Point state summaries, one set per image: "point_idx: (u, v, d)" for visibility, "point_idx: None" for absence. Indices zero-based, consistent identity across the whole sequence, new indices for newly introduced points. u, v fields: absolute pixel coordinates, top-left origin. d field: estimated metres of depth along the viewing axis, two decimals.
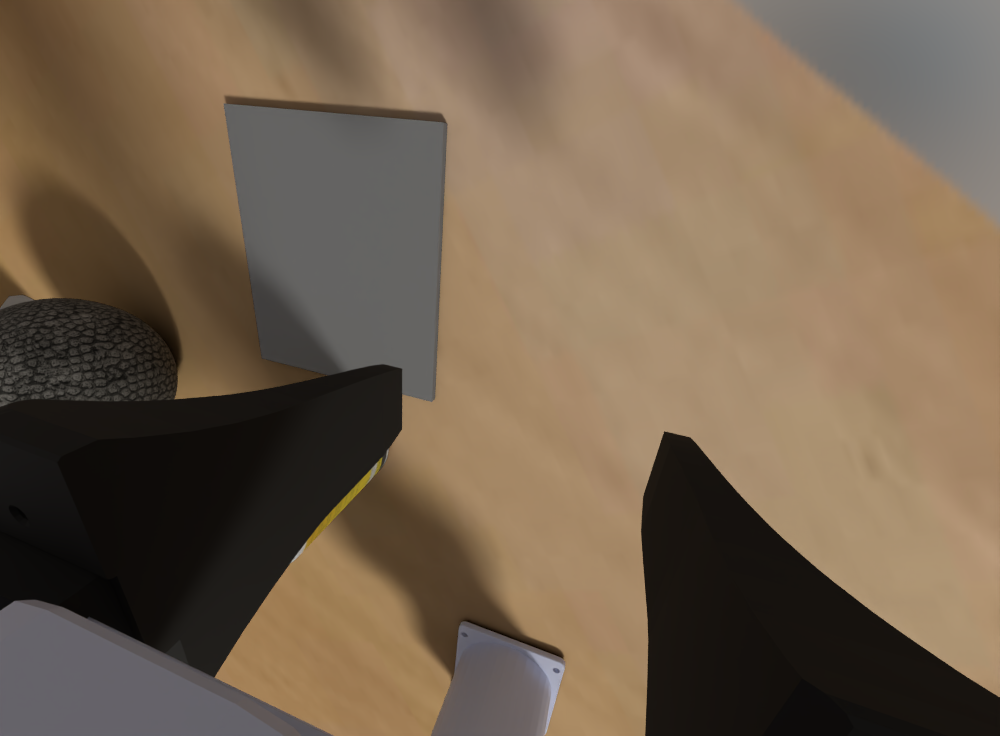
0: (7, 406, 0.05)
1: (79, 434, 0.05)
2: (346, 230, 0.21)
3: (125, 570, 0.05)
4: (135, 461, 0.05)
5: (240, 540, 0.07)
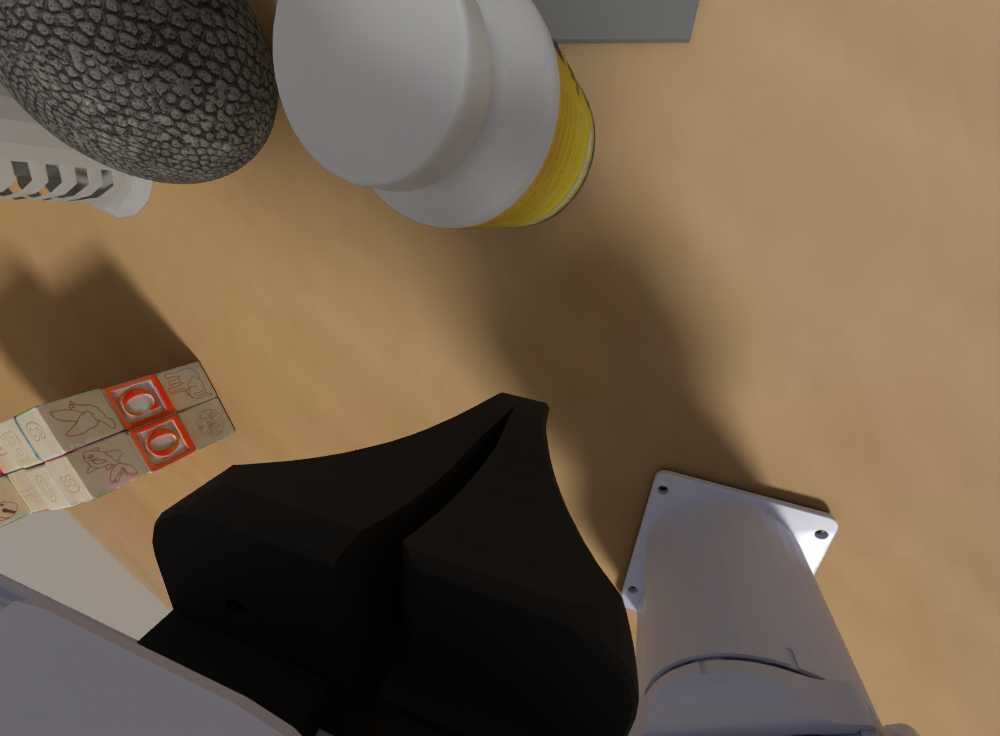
0: (227, 483, 0.04)
1: (331, 522, 0.04)
2: None
3: (356, 670, 0.05)
4: (377, 547, 0.04)
5: None
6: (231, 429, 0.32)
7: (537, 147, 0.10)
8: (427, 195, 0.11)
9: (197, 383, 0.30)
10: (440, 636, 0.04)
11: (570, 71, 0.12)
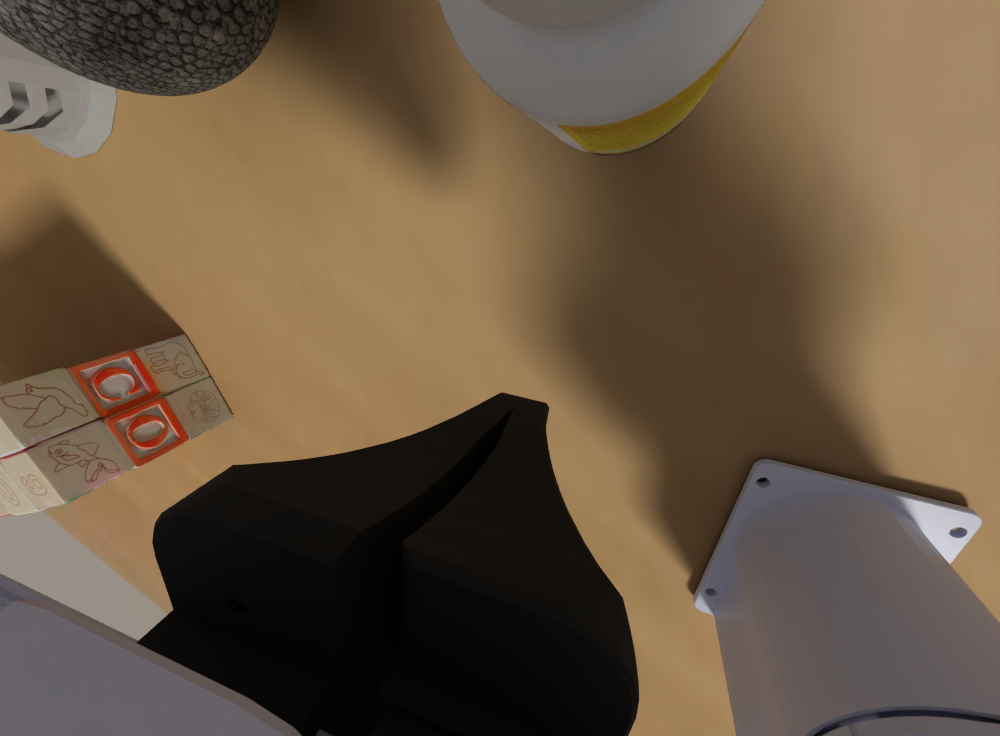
0: (227, 482, 0.04)
1: (331, 522, 0.04)
2: None
3: (356, 670, 0.05)
4: (377, 547, 0.04)
5: None
6: (228, 414, 0.27)
7: None
8: (580, 56, 0.07)
9: (185, 360, 0.25)
10: (440, 636, 0.04)
11: None
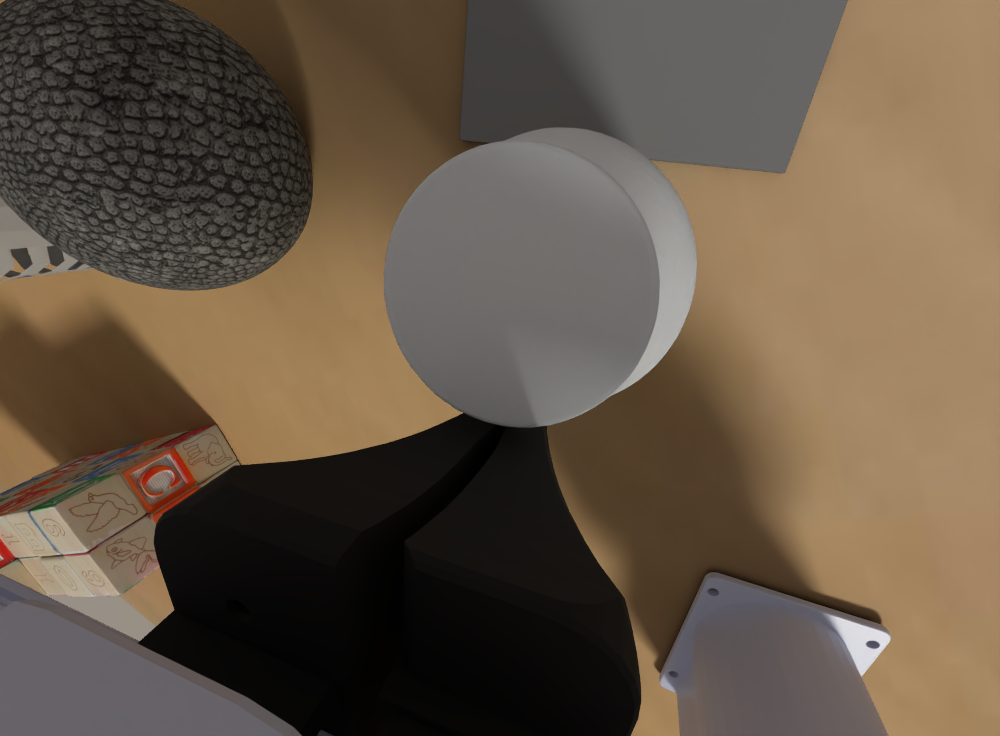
0: (228, 483, 0.04)
1: (333, 523, 0.04)
2: None
3: (357, 671, 0.05)
4: (378, 547, 0.04)
5: None
6: None
7: (669, 347, 0.09)
8: None
9: (216, 449, 0.29)
10: (442, 636, 0.04)
11: None
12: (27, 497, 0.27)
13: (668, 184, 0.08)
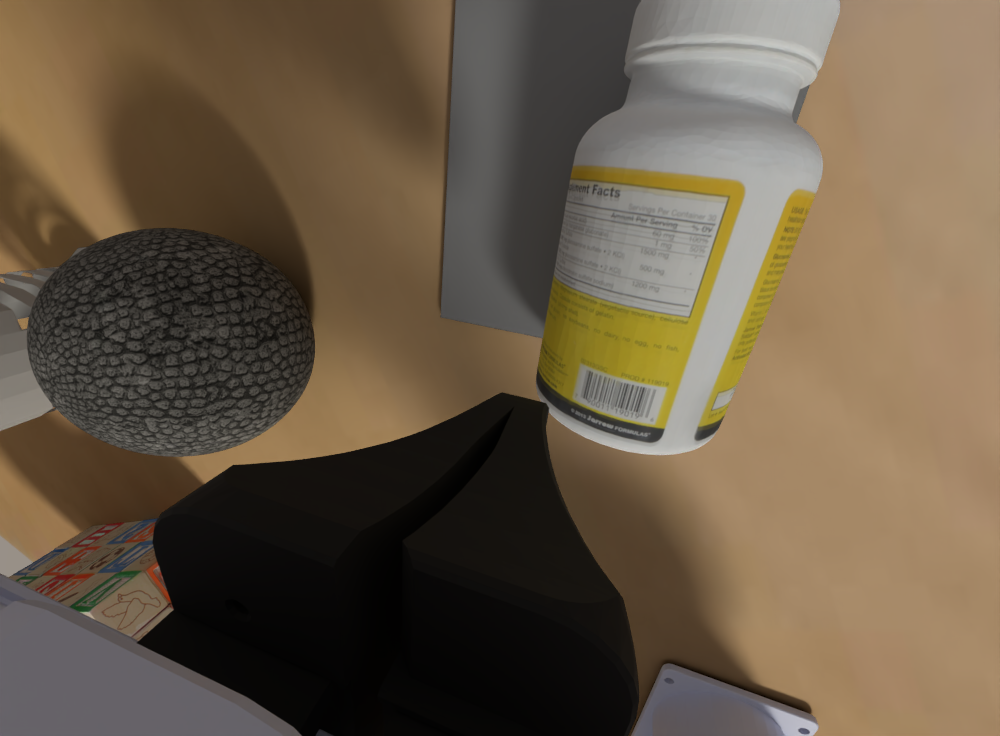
0: (227, 482, 0.04)
1: (331, 522, 0.04)
2: None
3: (356, 670, 0.05)
4: (377, 547, 0.04)
5: None
6: None
7: None
8: (792, 122, 0.10)
9: None
10: (440, 636, 0.04)
11: None
12: (57, 583, 0.30)
13: None
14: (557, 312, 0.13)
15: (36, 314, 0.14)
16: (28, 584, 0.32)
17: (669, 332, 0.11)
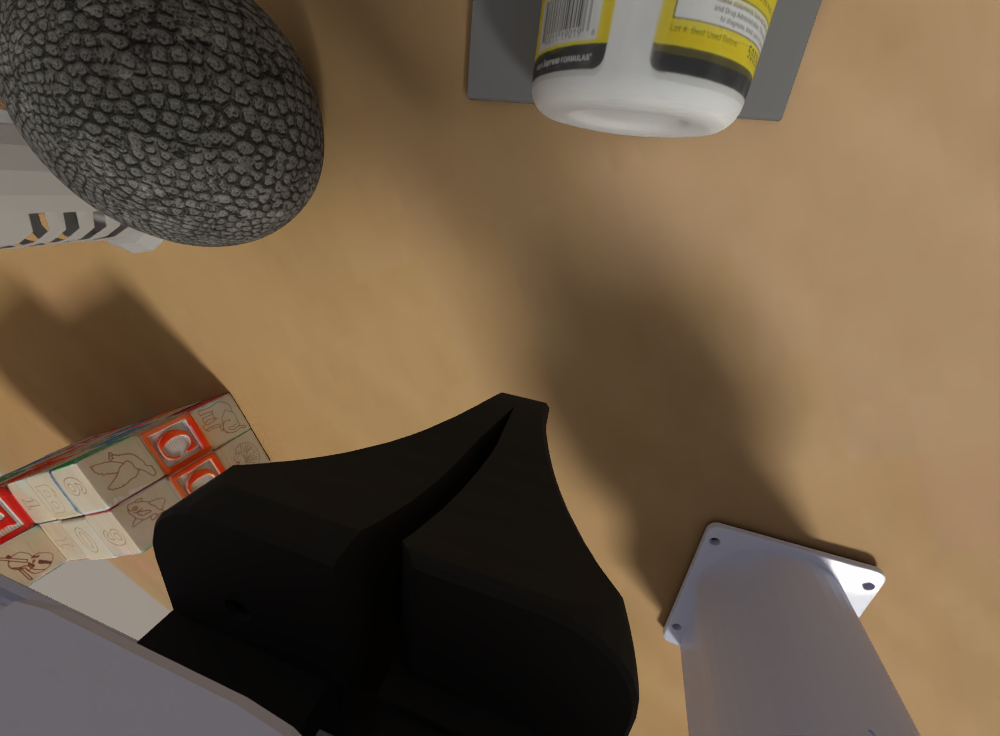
0: (227, 483, 0.04)
1: (331, 523, 0.04)
2: None
3: (356, 671, 0.05)
4: (377, 547, 0.04)
5: None
6: (267, 460, 0.30)
7: None
8: None
9: (230, 416, 0.29)
10: (440, 636, 0.04)
11: None
12: (44, 466, 0.27)
13: None
14: None
15: None
16: (14, 475, 0.29)
17: None
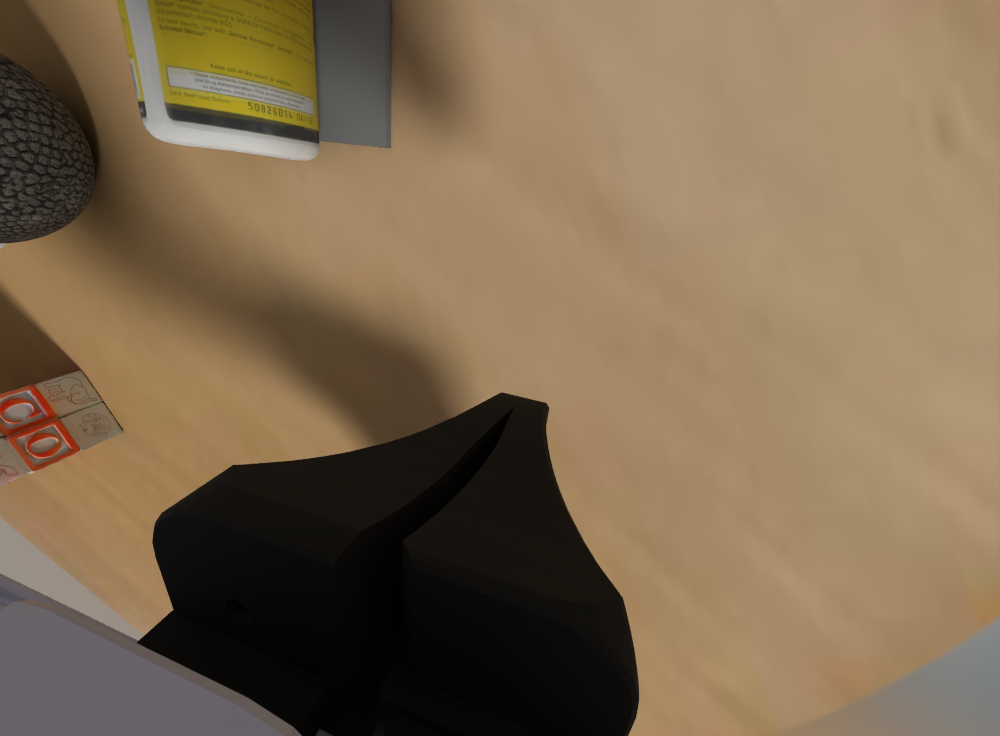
0: (227, 483, 0.04)
1: (331, 522, 0.04)
2: None
3: (356, 671, 0.05)
4: (377, 547, 0.04)
5: None
6: (118, 430, 0.35)
7: None
8: None
9: (80, 390, 0.33)
10: (440, 636, 0.04)
11: (313, 24, 0.17)
12: None
13: None
14: None
15: None
16: None
17: (119, 5, 0.14)
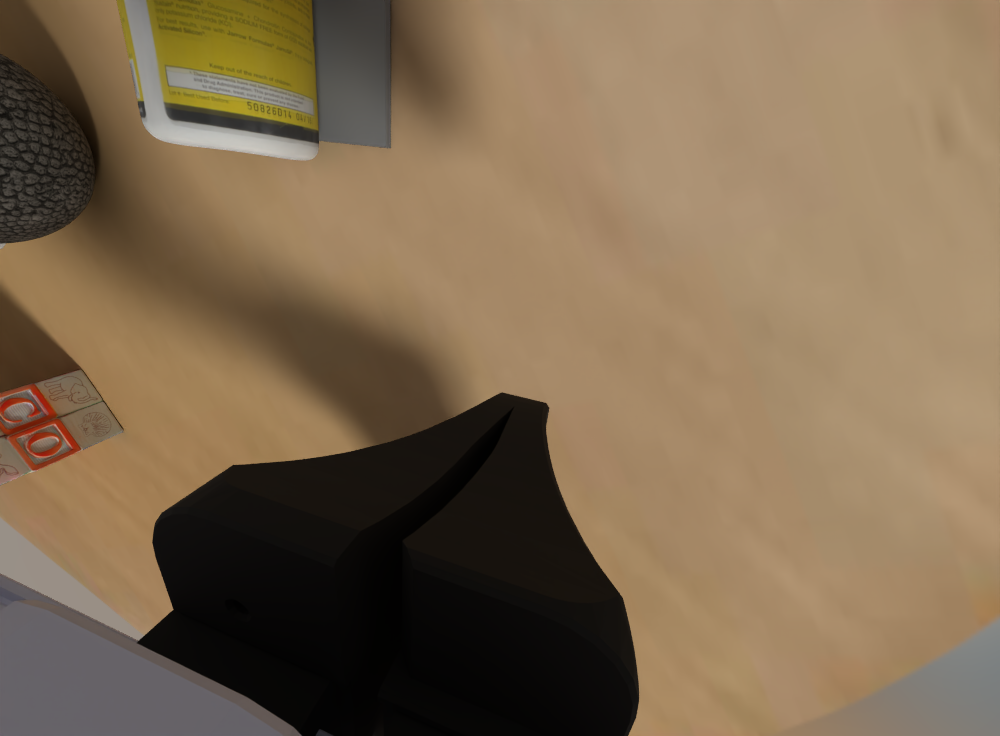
0: (227, 483, 0.04)
1: (331, 522, 0.04)
2: None
3: (356, 671, 0.05)
4: (377, 547, 0.04)
5: None
6: (119, 429, 0.35)
7: None
8: None
9: (80, 389, 0.33)
10: (440, 636, 0.04)
11: None
12: None
13: None
14: None
15: None
16: None
17: (118, 5, 0.14)
